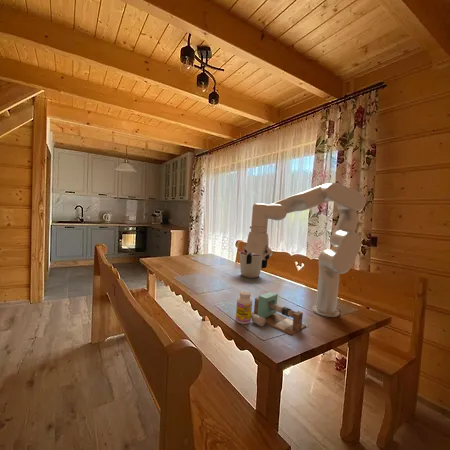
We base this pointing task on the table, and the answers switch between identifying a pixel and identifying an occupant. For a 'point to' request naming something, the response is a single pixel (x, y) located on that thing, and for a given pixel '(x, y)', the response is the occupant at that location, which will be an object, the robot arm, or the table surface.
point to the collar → (266, 304)
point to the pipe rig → (282, 318)
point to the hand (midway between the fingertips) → (256, 265)
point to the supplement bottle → (244, 308)
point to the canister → (250, 265)
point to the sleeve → (258, 320)
